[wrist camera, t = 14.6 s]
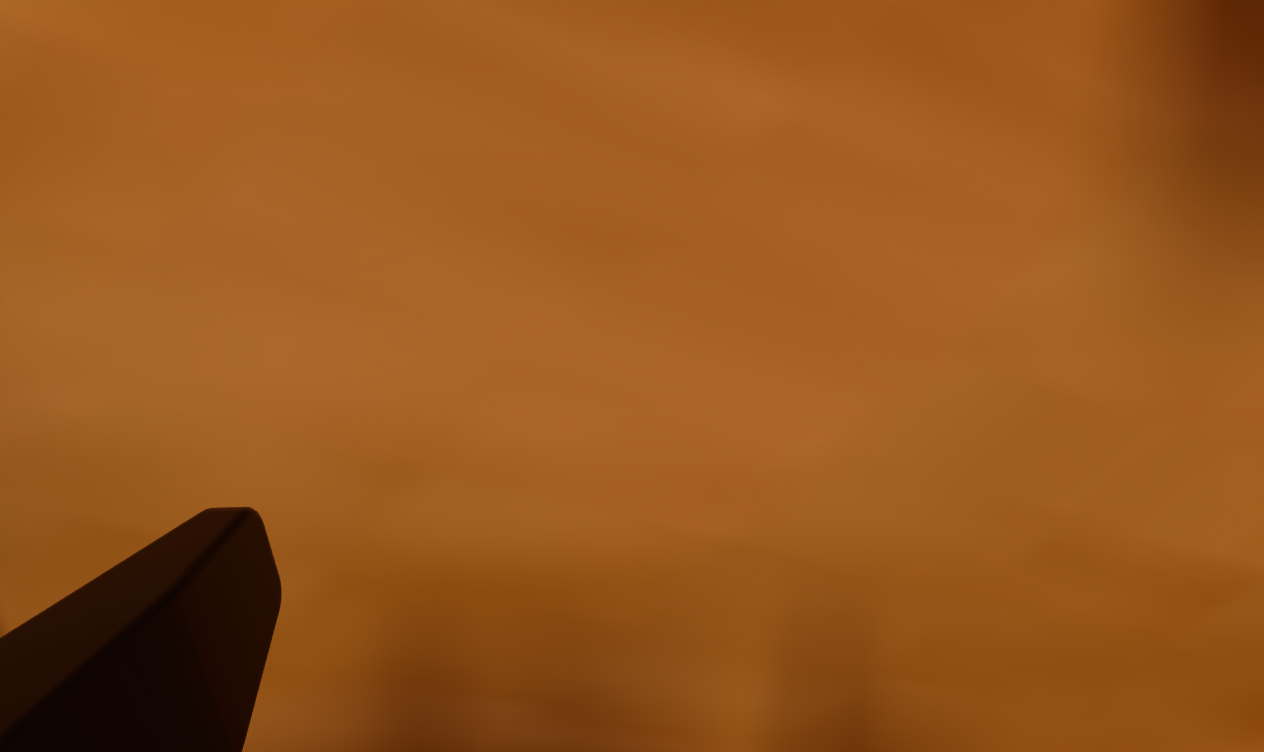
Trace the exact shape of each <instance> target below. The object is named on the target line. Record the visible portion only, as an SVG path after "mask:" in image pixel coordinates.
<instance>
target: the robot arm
mask: <svg viewBox="0 0 1264 752" xmlns="http://www.w3.org/2000/svg"><path fill="white" fill-rule="evenodd" d="M280 605H281V582H280V577H279V574H278V570H277V567H276V564H275V560H274V557H273V553H272V550H271V547H270V543H269V540H268V537H267V533H266V530H265V526H264V523H263V521H262V518H261V516H260V515H259V514H258V512H257V511H255V510H254V509H252V508H250V507H223V508H209V509H206V510H204V511H202V512H200V513H199V514H197V515H195V516H194V517H192V518H191V519H189V520H188V521H186V522H184V523H183V524H181V525H180V526H178V527H176V528H175V529H173V530H172V531H170V532H168V533H167V534H165V535H164V536H162V537H160V538H159V539H157V540H156V541H154V542H152V543H151V544H149V545H148V546H146V547H144V548H143V549H141V550H140V551H138V552H137V553H135V554H133V555H132V556H130V557H129V558H127V559H125V560H124V561H122V562H121V563H119V564H117V565H116V566H114V567H113V568H111V569H109V570H108V571H106V572H105V573H103V574H101V575H100V576H98V577H97V578H95V579H93V580H92V581H90V582H89V583H87V584H86V585H84V586H82V587H81V588H79V589H78V590H76V591H74V592H73V593H71V594H70V595H68V596H66V597H65V598H63V599H62V600H60V601H58V602H57V603H55V604H54V605H52V606H50V607H49V608H47V609H46V610H44V611H42V612H41V613H39V614H38V615H36V616H35V617H33V618H31V619H30V620H28V621H27V622H25V623H23V624H22V625H20V626H19V627H17V628H15V629H14V630H12V631H11V632H9V633H7V634H6V635H4V636H3V637H1V638H0V752H242V749H243V746H244V742H245V739H246V735H247V731H248V728H249V724H250V720H251V716H252V712H253V709H254V705H255V701H256V697H257V693H258V690H259V686H260V682H261V678H262V674H263V671H264V667H265V663H266V659H267V655H268V652H269V648H270V644H271V640H272V636H273V633H274V629H275V625H276V621H277V617H278V614H279V610H280Z"/></svg>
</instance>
